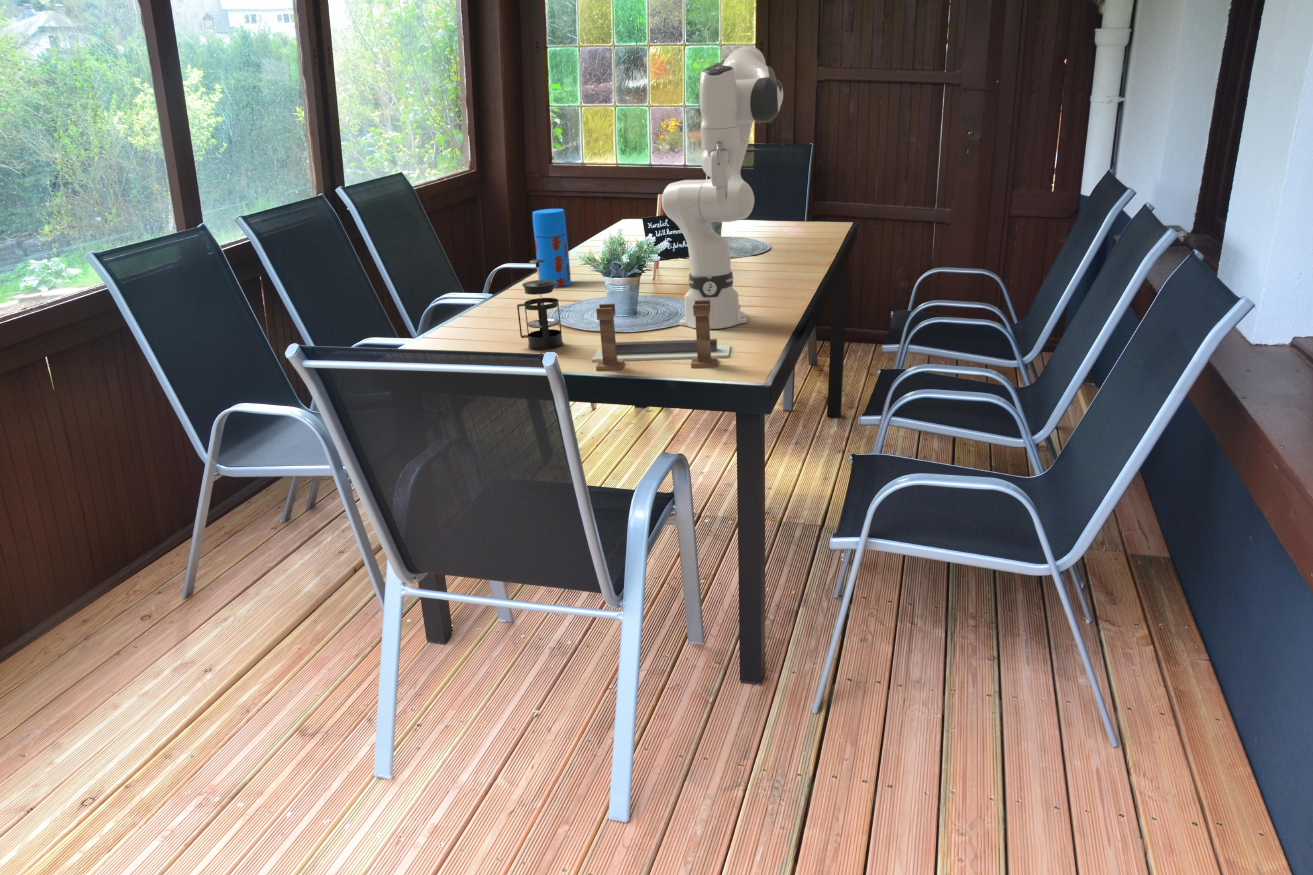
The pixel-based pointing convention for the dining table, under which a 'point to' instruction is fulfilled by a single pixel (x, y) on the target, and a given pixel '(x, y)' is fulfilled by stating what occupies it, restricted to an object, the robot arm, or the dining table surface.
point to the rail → (660, 346)
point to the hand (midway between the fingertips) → (722, 201)
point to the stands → (612, 363)
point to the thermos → (552, 246)
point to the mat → (665, 355)
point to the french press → (541, 314)
